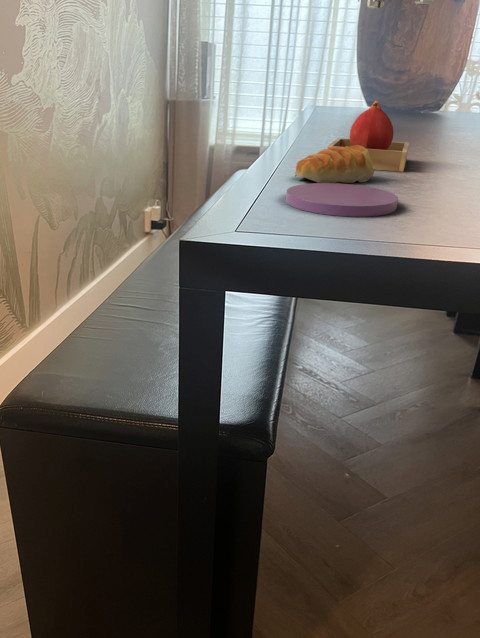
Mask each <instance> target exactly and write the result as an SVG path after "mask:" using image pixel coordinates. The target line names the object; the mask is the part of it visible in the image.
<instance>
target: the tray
mask: <svg viewBox="0 0 480 638" xmlns="http://www.w3.org/2000/svg"><path fill="white" fill-rule="evenodd" d="M346 146H347V147H351V143H350V138H345V137H341V138H340V137H336V139H335V140H333V142H331V143H330V144H329V145H328V146H327V148H329V147H346ZM409 147H410V142H403V141H392V142H391V145H390V146H389V148H388V149H387V150H380V149H367V150H368V151H369V156H370V158H371V160H372V164H373V167H374V171H387V172H400V173H404V170H405V167H406V163H407V157H408V152H409Z"/></svg>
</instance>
